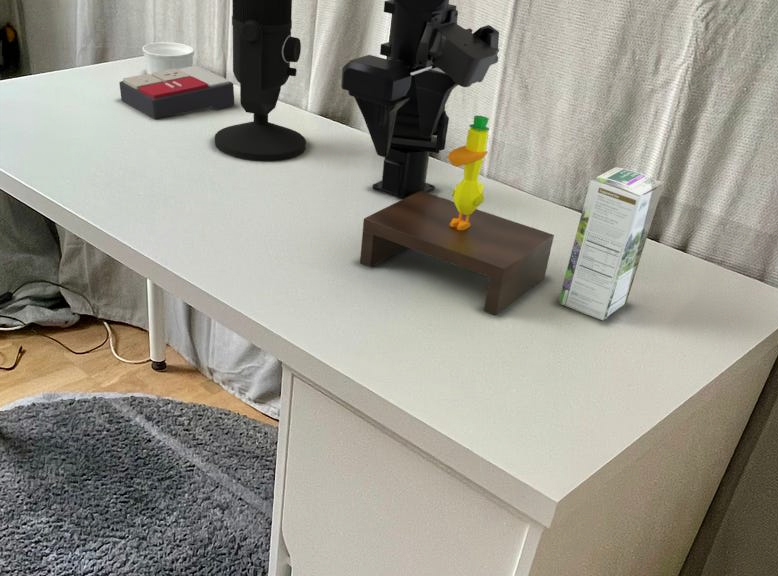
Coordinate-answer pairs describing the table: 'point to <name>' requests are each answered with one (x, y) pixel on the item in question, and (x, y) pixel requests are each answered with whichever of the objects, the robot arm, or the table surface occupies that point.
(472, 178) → the toy figure
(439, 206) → the shelf
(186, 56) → the ramekin
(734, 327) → the table surface
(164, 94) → the grey and red case
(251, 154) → the microphone
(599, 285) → the syrup box
